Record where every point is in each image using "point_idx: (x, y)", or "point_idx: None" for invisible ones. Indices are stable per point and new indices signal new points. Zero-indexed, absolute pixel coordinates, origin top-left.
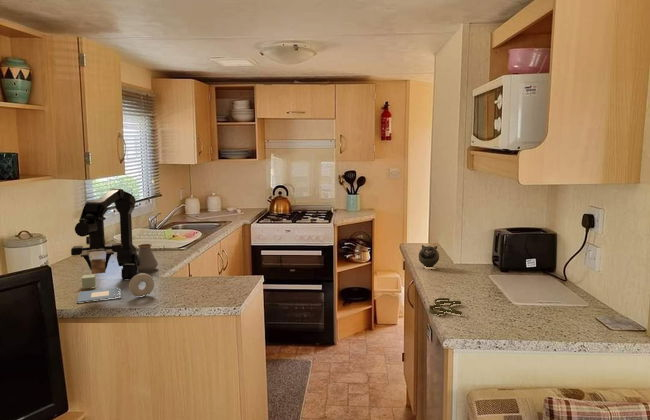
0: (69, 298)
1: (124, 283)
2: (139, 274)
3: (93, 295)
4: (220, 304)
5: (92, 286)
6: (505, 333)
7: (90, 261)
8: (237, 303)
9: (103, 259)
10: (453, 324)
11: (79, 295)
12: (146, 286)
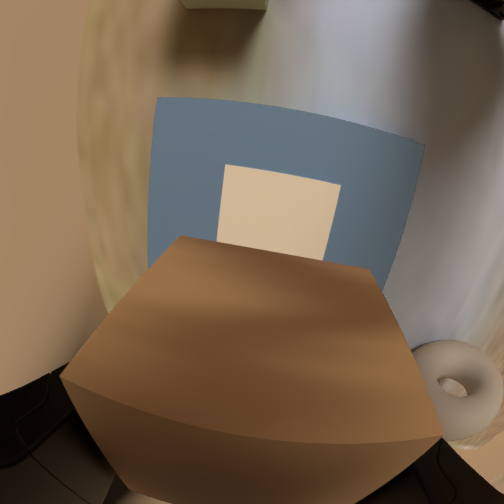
0: (111, 175)
1: (446, 34)
2: (461, 439)
3: (230, 239)
4: (479, 437)
5: (247, 3)
6: (493, 483)
7: (102, 453)
8: (493, 436)
9: (350, 493)
10: (499, 476)
11: (152, 185)
12: (462, 383)
